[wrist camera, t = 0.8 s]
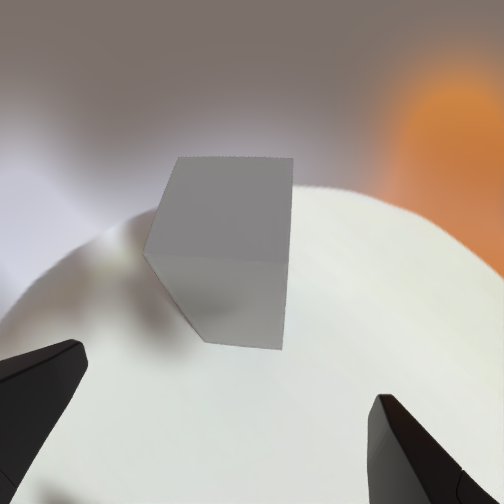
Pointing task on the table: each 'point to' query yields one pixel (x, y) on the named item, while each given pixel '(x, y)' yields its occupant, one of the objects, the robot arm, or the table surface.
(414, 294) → the table surface
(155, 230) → the smooth gray cuboid
